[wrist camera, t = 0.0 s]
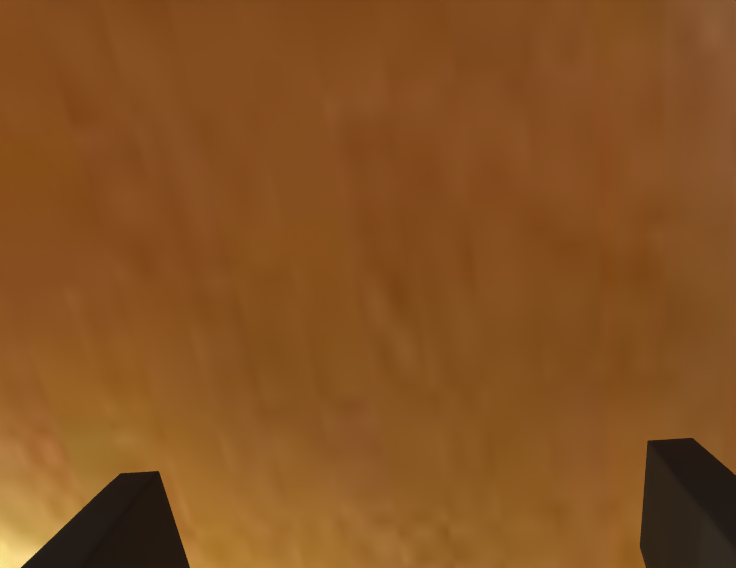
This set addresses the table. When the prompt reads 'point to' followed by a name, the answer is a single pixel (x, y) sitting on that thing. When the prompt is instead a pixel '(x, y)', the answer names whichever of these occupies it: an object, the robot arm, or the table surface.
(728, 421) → the table surface
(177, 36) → the table surface
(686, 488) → the robot arm
